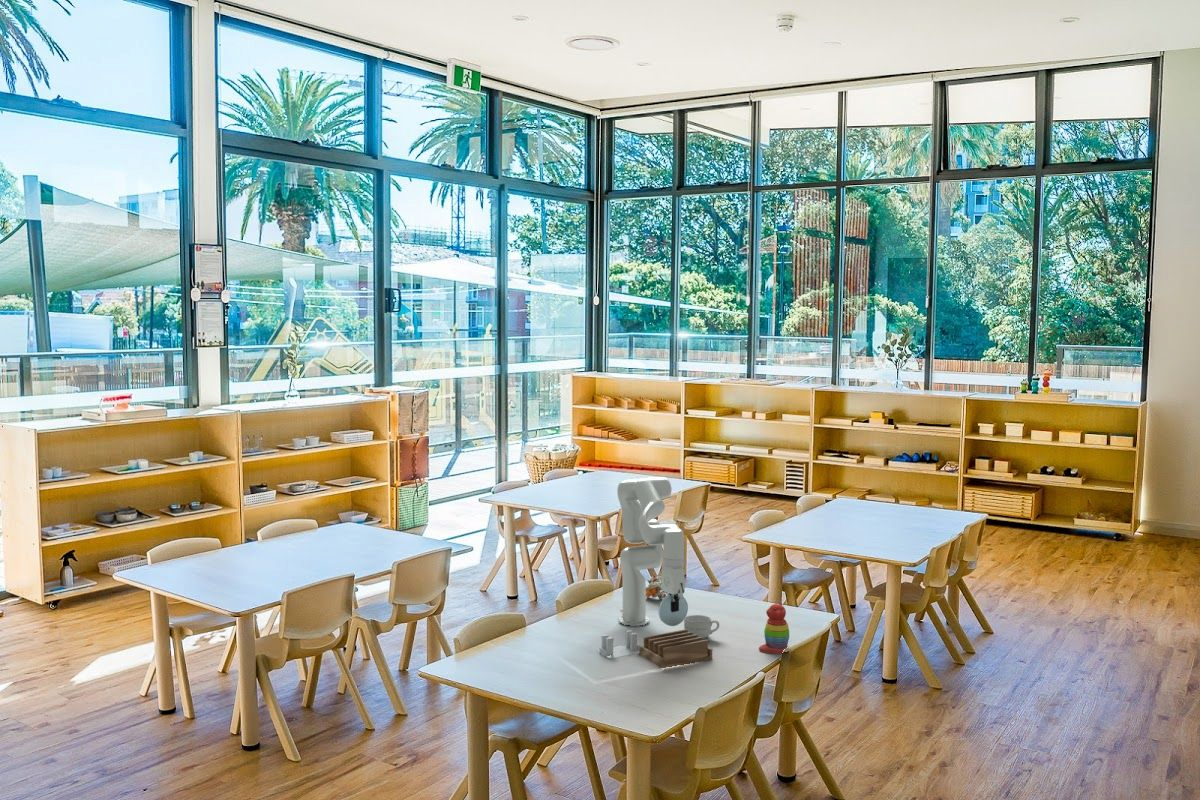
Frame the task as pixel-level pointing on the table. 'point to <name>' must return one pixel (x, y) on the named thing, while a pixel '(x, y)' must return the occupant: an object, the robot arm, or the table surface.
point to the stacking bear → (775, 630)
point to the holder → (623, 650)
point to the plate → (669, 616)
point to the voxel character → (655, 588)
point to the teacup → (700, 625)
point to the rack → (675, 648)
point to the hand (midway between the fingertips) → (673, 610)
